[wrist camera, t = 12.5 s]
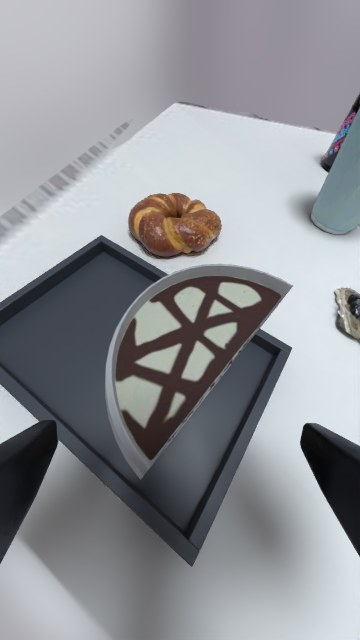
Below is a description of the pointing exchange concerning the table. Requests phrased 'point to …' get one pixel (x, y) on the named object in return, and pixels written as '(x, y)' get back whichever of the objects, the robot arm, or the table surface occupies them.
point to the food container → (180, 350)
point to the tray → (89, 390)
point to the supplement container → (340, 136)
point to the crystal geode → (349, 311)
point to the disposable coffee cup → (341, 188)
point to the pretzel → (173, 224)
